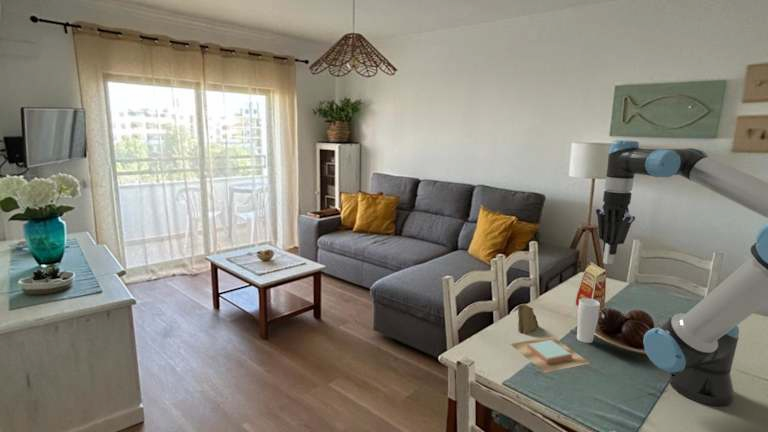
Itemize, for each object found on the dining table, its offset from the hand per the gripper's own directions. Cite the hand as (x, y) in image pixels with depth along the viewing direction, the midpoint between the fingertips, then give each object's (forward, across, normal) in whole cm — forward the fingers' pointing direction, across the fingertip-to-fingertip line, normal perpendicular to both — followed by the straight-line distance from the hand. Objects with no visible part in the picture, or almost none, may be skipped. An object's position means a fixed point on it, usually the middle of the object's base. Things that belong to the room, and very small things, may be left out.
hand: (607, 262), depth 134 cm
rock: (+33, +21, +11) cm, 40 cm away
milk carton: (+33, +29, -26) cm, 51 cm away
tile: (+31, -1, +16) cm, 35 cm away
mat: (+32, +4, +16) cm, 36 cm away
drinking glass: (+33, +8, -3) cm, 34 cm away
